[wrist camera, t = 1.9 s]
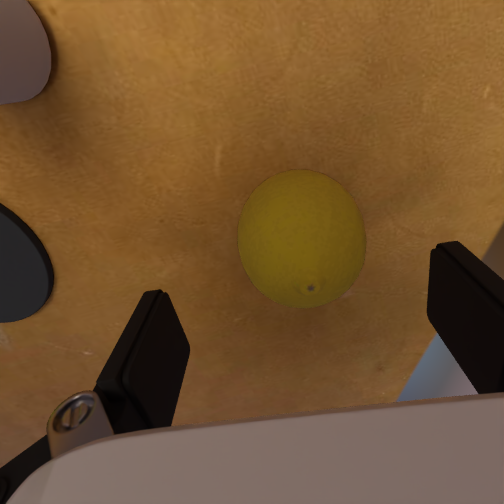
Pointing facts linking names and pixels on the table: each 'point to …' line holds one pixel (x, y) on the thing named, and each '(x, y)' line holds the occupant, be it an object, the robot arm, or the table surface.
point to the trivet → (21, 269)
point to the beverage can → (22, 52)
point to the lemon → (301, 239)
